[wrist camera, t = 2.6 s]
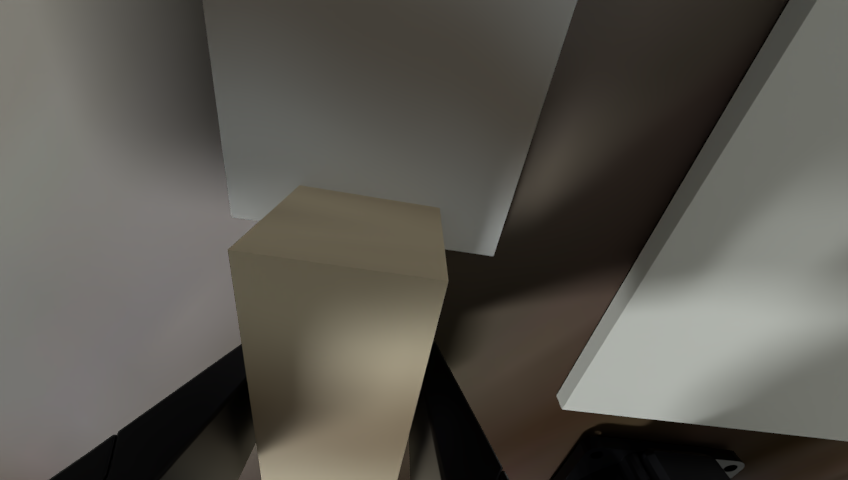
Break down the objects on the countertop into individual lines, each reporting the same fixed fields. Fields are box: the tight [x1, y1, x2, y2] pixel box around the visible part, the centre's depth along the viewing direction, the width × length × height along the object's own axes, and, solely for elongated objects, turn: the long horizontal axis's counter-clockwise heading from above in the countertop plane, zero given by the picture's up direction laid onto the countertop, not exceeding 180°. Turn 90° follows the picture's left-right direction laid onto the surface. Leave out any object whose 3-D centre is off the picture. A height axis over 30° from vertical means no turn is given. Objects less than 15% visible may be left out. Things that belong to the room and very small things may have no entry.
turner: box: [202, 0, 577, 480], centre depth 6 cm, size 14×6×4 cm, turn 170°
